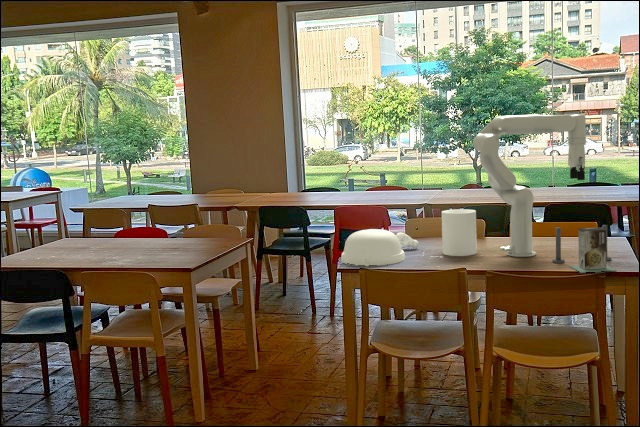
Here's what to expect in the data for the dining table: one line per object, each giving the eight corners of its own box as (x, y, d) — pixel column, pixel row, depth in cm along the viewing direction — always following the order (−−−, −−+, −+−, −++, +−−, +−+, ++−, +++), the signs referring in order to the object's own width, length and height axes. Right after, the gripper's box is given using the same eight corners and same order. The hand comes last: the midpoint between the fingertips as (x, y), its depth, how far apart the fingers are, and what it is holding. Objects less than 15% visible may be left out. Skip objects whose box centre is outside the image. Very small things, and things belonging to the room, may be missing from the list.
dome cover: (349, 253, 340) (347, 225, 338) (409, 253, 332) (408, 224, 331) (334, 266, 309) (332, 236, 308) (399, 267, 302) (398, 235, 300)
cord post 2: (601, 261, 292) (601, 226, 290) (596, 259, 296) (596, 224, 295) (613, 260, 292) (613, 225, 290) (608, 258, 297) (607, 224, 295)
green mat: (581, 273, 271) (581, 271, 271) (570, 267, 283) (570, 265, 283) (616, 271, 271) (616, 270, 271) (603, 265, 283) (603, 264, 283)
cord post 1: (554, 263, 292) (554, 228, 290) (550, 261, 297) (550, 227, 295) (566, 262, 292) (566, 228, 290) (562, 260, 297) (561, 226, 295)
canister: (442, 250, 335) (441, 209, 333) (476, 249, 332) (475, 208, 330) (442, 256, 320) (441, 214, 317) (477, 255, 317) (476, 213, 314)
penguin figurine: (395, 231, 344) (418, 232, 344) (394, 248, 345) (417, 249, 345) (395, 233, 338) (420, 234, 337) (394, 250, 339) (418, 251, 339)
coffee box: (600, 265, 281) (600, 226, 279) (606, 268, 274) (606, 229, 272) (578, 266, 281) (577, 228, 279) (584, 270, 274) (584, 230, 272)
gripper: (562, 141, 320) (563, 178, 322) (574, 142, 303) (575, 181, 305) (578, 140, 320) (579, 177, 322) (592, 141, 303) (592, 180, 305)
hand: (577, 179), depth 314 cm, fingers open, 9 cm apart
